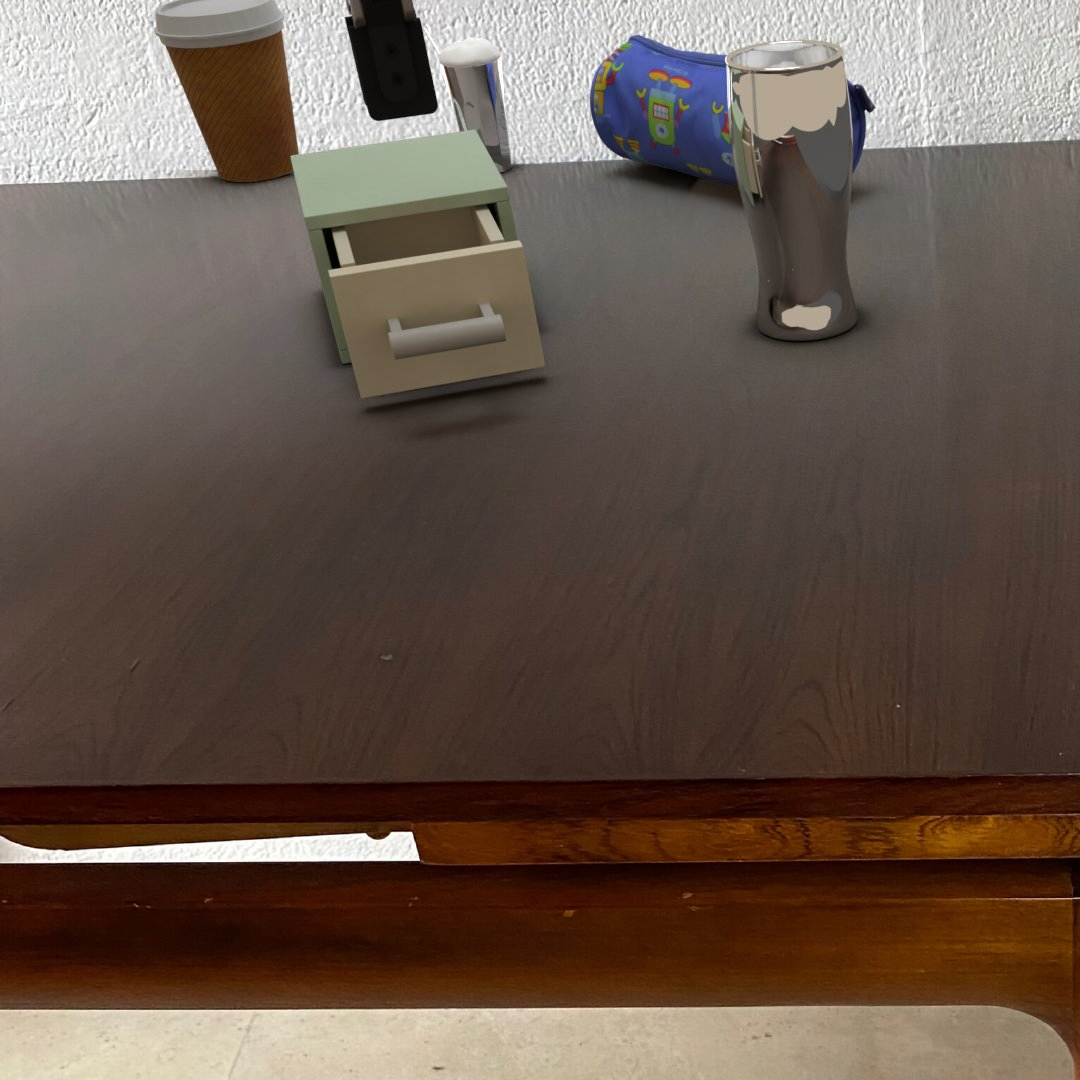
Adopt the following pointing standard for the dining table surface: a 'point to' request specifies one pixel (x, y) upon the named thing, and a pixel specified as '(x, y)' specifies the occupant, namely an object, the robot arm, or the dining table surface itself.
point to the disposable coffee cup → (234, 82)
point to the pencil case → (678, 109)
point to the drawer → (433, 300)
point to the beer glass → (795, 181)
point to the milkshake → (478, 93)
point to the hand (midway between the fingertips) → (401, 108)
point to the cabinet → (393, 192)
